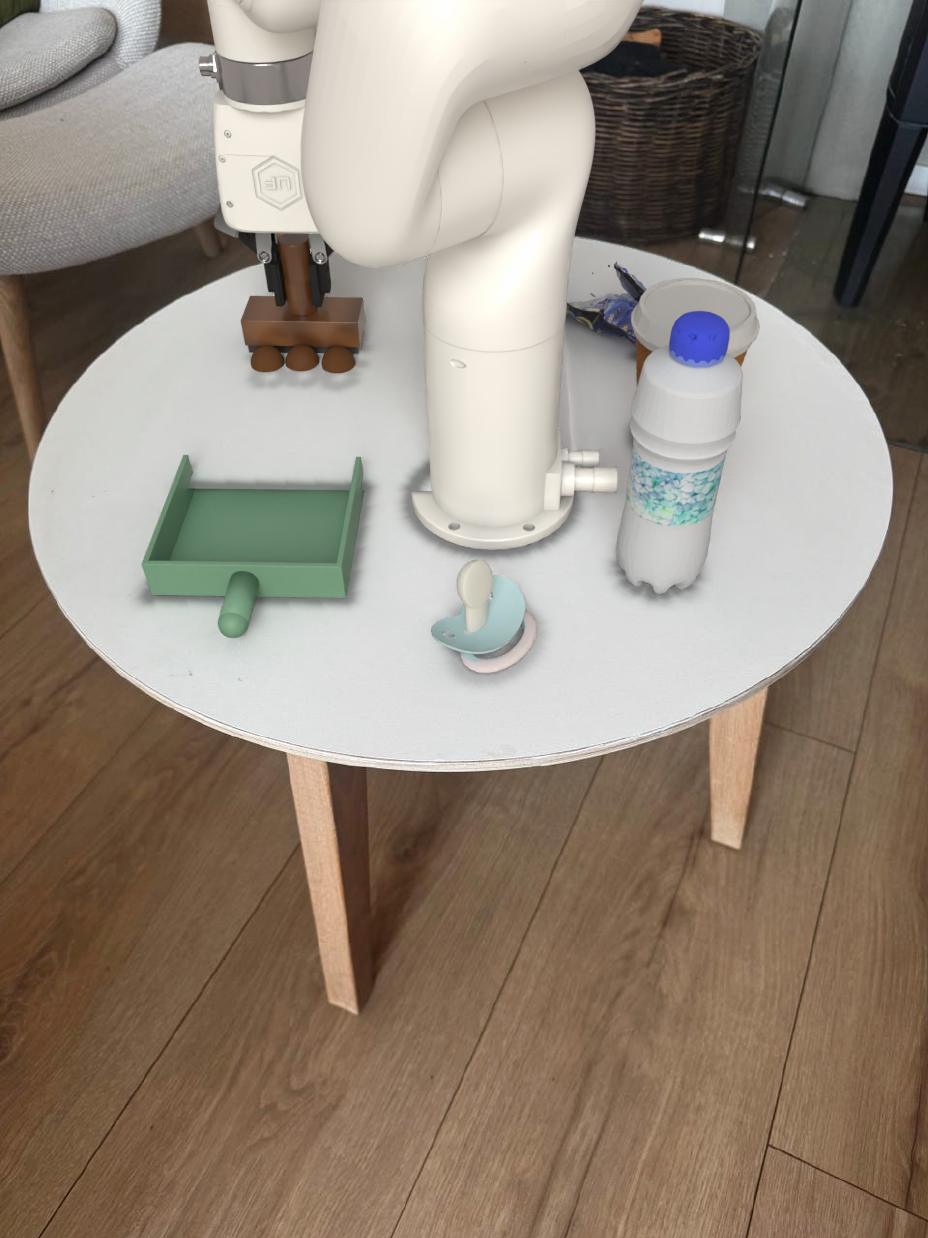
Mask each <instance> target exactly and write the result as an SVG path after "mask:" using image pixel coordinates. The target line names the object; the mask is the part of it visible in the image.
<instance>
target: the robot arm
mask: <svg viewBox="0 0 928 1238" xmlns="http://www.w3.org/2000/svg"><path fill="white" fill-rule="evenodd" d="M644 2H645V0H206V3H207V8H208V14H209V20H210V26H211V32H212V36H213V37H212V39H213V43H214V52H213V53H212V54H211V53H210V54H209V55H205V56H204V55H203V56H201V55H200V56H199V57H198V68H199V73H200V76H201V77H210V78H211V79H215V80H216V82H217V84H218V87H219V90H218V91H217V92H216V93H215V94H214V96H213V97H212V132H213V133H212V135H213V151H214V159H215V171H216V179H217V187H218V188H217V189H218V195H219V205H218V208H217V211H216V214H215V217H214V219H213V227H214V228H215V229H216V230H218V231H220V232H222V233H224V234H225V235H229V236H231V237H233V238H237V239H238V240H239V241H241V243H242V244H244V245H245V246H246V247H247V248H248V249H249V250H251V252H253V253H254V254H255V255H256V257H257V259H258V261H260V263H262V264H263V267H264V268H263V269H264V275H265V280H266V281H265V282H266V286H267V287H266V288H267V292H268V293H273V296H275V302H276V306H280V307H282V306H283V305H285V303H286V300H287V299H286V292H285V286H284V279H283V272H282V266H281V259H280V252H279V245H278V235H277V234H285V233H293V234H306V235H307V234H308V235H307V236H308V238H309V245H310V253H311V255H310V256H311V259H310V261H309V264H308V271H309V279H310V287H311V295H312V302H313V305H315V307H322V303H323V300H324V297H326V294H331V290H332V277H331V267H330V259H329V257H330V256H331V255H332V254H333V253H334V252H335V253H336V255H338V256H339V257H341V258H343V259H344V260H345V261H348V262H349V263H352V264H354V265H357V266H359V267H364V268H370V269H383V268H384V269H385V268H386V269H387V268H392V267H396V266H400V265H403V264H407V263H410V262H413V261H416V260H418V259H423V258H425V257H426V258H427V259H426V262H425V268H424V273H423V280H422V289H421V306H422V330H423V351H424V369H425V388H426V389H425V390H426V391H425V392H426V410H427V413H426V414H427V429H428V430H427V431H428V434H427V435H428V451H429V469H430V470H429V473H430V474H429V475H430V487H431V490H410V496H411V505H412V509H413V511H414V514H415V515H416V517H417V519H418V520H419V521H420V522H421V524H422V525H423V526H424V527H425V528H426V529H428V531H430V532H431V533H432V534H433V535H436V536H437V537H439V538H441V539H442V540H445V541H446V542H449V543H452V544H455V545H457V546H461V547H466V548H471V549H475V550H486V551H487V550H488V551H495V550H496V551H497V550H511V549H517V548H521V547H525V546H528V545H531V544H533V543H537V542H538V541H540V540H543V539H545V538H547V537H549V536H551V535H552V534H554V532H556V531H557V530H558V529H560V528H561V527H562V526H563V525H564V524H565V522H566V521H567V520H568V519H569V516H570V514H571V512H572V510H573V509H574V508H573V507H574V500H575V492H592V493H603V494H605V493H608V494H609V493H610V494H616V493H617V492H618V481H619V471H618V467H617V466H600V450H599V449H598V450H596V449H595V450H594V449H593V450H591V449H590V450H587V449H582V450H569V447H565V446H564V447H562V443H561V441H562V440H561V430H560V429H559V424H560V423H559V422H560V409H561V408H560V407H561V406H560V405H561V391H562V390H561V389H562V377H563V376H562V375H563V360H564V345H565V329H566V319H567V313H566V308H567V303H568V293H569V279H570V271H571V261H572V253H573V246H574V241H575V235H576V230H577V226H578V223H579V222H578V221H579V217H580V213H581V209H582V205H583V203H584V199H585V195H586V190H587V187H588V184H589V183H588V182H589V180H590V179H589V178H590V175H591V171H592V168H593V161H594V155H595V146H596V116H595V108H594V104H593V99H592V96H591V93H590V91H589V87H588V85H587V82H586V81H585V79H584V77H583V75H582V73H581V72H580V70H582V69H584V68H586V67H589V66H591V65H593V64H595V63H597V62H598V61H600V60H602V59H603V58H605V57H607V56H608V55H609V54H610V53H611V52H613V51H614V50H615V49H616V48H617V46H618V45H619V44H620V43H621V42H622V41H623V39H624V38H625V37H626V35H627V33H628V31H629V30H630V28H631V27H632V25H633V23H634V21H635V19H636V18H637V15H638V13H639V11H640V9H641V8H642V6H643V4H644Z"/></svg>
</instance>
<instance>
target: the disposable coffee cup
mask: <svg viewBox="0 0 928 1238" xmlns="http://www.w3.org/2000/svg"><path fill="white" fill-rule="evenodd" d="M646 289H647V290H646V291H645V292H644V293H643V295H642V296H641V298H640V300H639V303H638V305H636V307H635V308H634V310H633V312H632V315H631V323H632V327H633V330H634V333H635V336H636V344H635V349H636V350H635V368H636V372H635V373H636V374H635V376H636V377H635V378H636V379H635V381H636V382H635V383H636V387H637V385H638V382H639V378H640V375H641V371H642V368H643V364H644V362H645V360H646V358H647V357H648V356H649V355H650V354H651V353H652V352H653V351H655V350H657V349H659V348H661V347H664V346H666V345H669V342H670V335H671V330H672V327H673V325H674V323H675V321H676V320H677V319H678V318H679V317H680V316H681V315H683V314H685V313H688V312H692V311H707V312H711V313H714V314H717V315H719V316H721V317H722V318H723V319H724V320H725V321H726V323H727V324H728V326H729V330H730V339H729V344H728V349H727V352H726V353H728V354H730V355H731V356H732V357H733V358H734V359H735V360H736V361H737V362H738V363H739V365H740V366H741V368H742V367H743V365H744V364H743V363H744V361H745V358H746V356H747V352H748V350H749V349H750V348H751V346H752V344H753V343H754V342H755V341H756V340H757V337H758V336H759V333H760V329H761V325H760V321H759V318H758V317H757V316H758V315H757V306H756V304H755V302H754V301H753V299H752V297H750V296H749V295H748V294H747V293H746V292H744V291H742V290H741V289H739V288H737V287H735V286H734V285H731V284H728V283H727V282H721V281H718V280H714V279H705V278H701V277H700V278H699V277H682V278H681V277H680V278H674V279H669V280H668V279H667V280H664V281H661V282H657V283H655V284H653V285H651V286H650V287H648V288H646Z"/></svg>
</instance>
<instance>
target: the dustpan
mask: <svg viewBox="0 0 928 1238" xmlns="http://www.w3.org/2000/svg"><path fill="white" fill-rule="evenodd" d="M189 457H190V456H189V454H183V455H182V457H181V460H180V463H179V465H178V468H177V470H176V474H175V476H174V478H173V481H172V483H171V486H170V489H169V491H168V493H167V497H166V499H165V501H164V505H163V506H162V509H161V512H160V515H159V518H158V520H157V522H156V525H155V528H154V531H153V533H152V535H151V538H150V541H149V542H148V545H147V548H146V551H145V554H144V556H143V559H142V562H141V568H142V570H143V574H144V576H145V579H146V582H147V585H148V588H149V591H150V594H151V595H152V596H190V597H191V596H193V597H194V596H195V597H224V598H223V602H222V605H221V609H220V612H219V615H218V619H217V627H218V630H219V632H220V633H221V634H222V635H223V636H225V637H226V638H230V639H237V638H240V637H242V636H244V634H245V633H247V630H248V628H249V625H250V621H251V617H252V614H253V609H254V606H255V602H256V598H257V597H259V598H313V599H314V598H323V599H324V598H325V599H346V598H347V596H348V590H349V586H350V579H351V573H352V567H353V561H354V555H355V548H356V543H357V536H358V533H359V532H358V531H359V526H360V519H361V514H362V507H363V501H364V496H365V490H361V489H362V483H363V478H364V472H363V471H364V470H363V462H362V460H363V459H362V456H355V460H354V467H353V470H352V476H351V483H350V487H349V489H283V488H281V489H280V488H279V489H278V488H277V489H276V488H275V489H273V488H269V489H268V488H196V487H195V488H191V487H189V486H190V485H189V484H190V481H191V479H192V476H193V474H194V471H193V468H192V464H191V461H190V458H189ZM188 487H189V488H188Z"/></svg>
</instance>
